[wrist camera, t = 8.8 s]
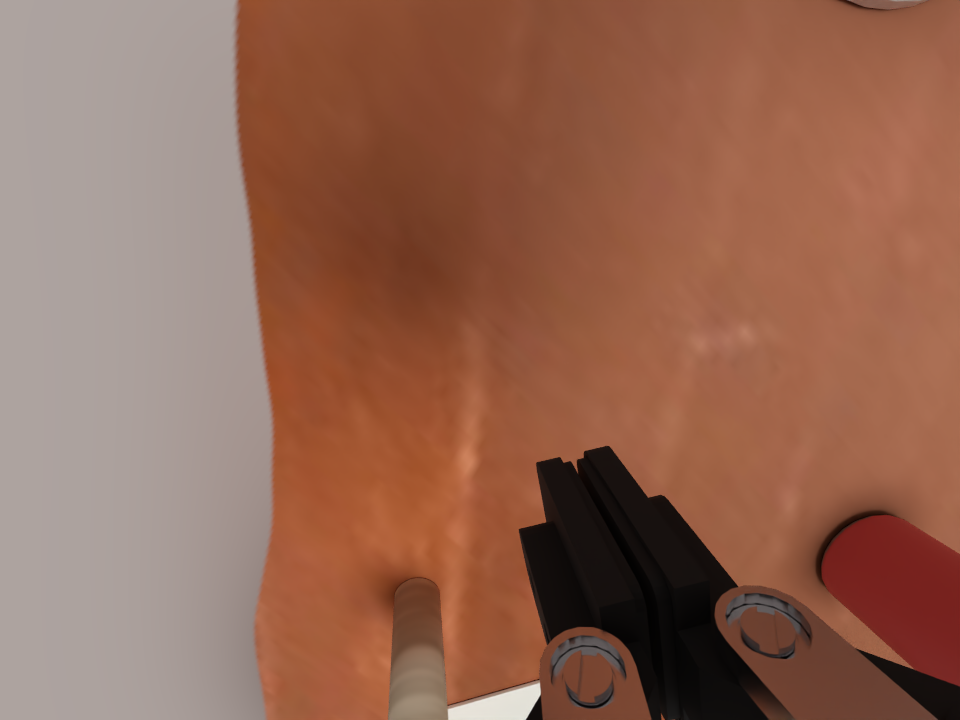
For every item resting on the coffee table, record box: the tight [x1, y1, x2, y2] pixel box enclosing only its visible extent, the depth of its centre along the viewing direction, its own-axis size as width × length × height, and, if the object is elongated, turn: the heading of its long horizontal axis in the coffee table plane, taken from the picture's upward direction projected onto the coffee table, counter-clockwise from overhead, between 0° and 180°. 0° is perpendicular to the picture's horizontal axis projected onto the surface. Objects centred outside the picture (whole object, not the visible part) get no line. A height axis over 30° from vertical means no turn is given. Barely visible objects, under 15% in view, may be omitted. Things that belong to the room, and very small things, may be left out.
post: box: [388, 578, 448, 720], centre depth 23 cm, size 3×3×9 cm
